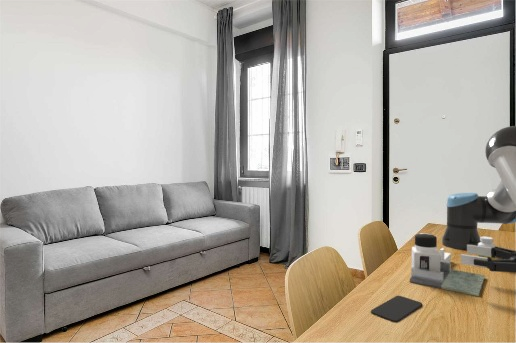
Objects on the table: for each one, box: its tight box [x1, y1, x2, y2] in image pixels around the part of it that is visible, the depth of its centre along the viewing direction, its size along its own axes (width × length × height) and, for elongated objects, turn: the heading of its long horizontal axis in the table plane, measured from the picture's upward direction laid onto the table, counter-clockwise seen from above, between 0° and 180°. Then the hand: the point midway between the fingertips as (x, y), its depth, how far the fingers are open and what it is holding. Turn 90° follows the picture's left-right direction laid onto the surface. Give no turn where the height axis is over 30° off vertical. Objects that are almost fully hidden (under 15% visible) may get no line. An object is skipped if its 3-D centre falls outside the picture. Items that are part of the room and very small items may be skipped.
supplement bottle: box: [477, 236, 496, 259], centre depth 124 cm, size 5×5×10 cm
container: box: [411, 232, 441, 272], centre depth 112 cm, size 8×8×13 cm
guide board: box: [409, 261, 486, 297], centre depth 109 cm, size 18×18×4 cm
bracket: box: [437, 247, 452, 262], centre depth 125 cm, size 13×7×8 cm, turn 139°
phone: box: [370, 295, 423, 323], centre depth 89 cm, size 7×1×15 cm
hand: (464, 253), depth 105 cm, fingers open, 13 cm apart
